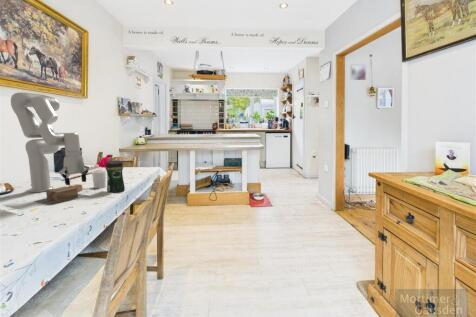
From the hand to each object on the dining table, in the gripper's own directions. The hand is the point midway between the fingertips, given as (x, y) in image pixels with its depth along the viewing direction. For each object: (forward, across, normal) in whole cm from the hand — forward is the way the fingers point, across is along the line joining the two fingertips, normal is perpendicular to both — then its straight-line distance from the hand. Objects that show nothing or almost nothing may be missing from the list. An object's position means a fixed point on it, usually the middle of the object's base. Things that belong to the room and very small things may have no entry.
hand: (76, 183), depth 161 cm
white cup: (+6, -18, -4) cm, 19 cm away
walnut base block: (+5, +14, +10) cm, 18 cm away
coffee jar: (+7, -14, +16) cm, 22 cm away
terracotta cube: (+6, 0, -1) cm, 6 cm away
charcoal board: (+6, +14, +10) cm, 18 cm away
